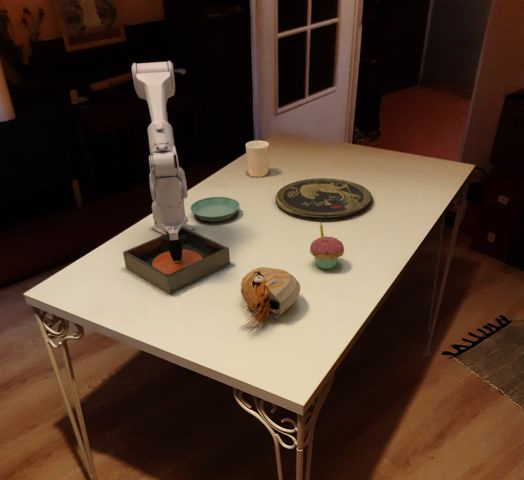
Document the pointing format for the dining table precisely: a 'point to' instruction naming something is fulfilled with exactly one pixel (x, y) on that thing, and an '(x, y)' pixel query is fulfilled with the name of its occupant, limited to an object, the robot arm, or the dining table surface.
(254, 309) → the nautilus shell
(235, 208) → the saucer
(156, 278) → the tray
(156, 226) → the robot arm
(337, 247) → the cupcake
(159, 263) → the orange round pegged disc
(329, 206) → the decorative plate
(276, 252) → the dining table surface
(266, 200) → the dining table surface
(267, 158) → the white cup
